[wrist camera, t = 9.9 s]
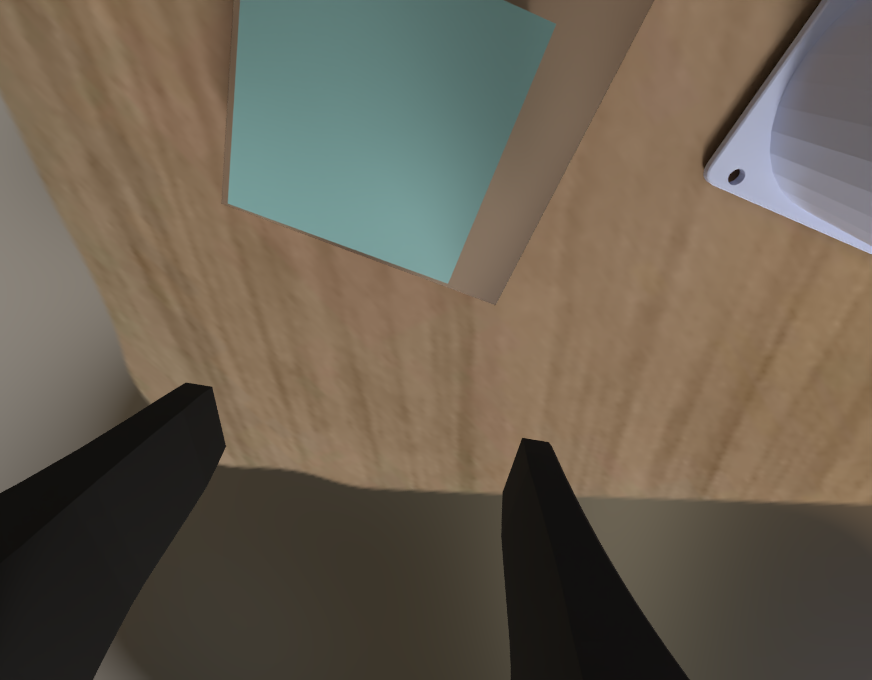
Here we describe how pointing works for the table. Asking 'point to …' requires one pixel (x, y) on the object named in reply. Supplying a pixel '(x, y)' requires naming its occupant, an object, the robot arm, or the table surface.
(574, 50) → the walnut base block
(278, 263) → the table surface
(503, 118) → the teal cube
